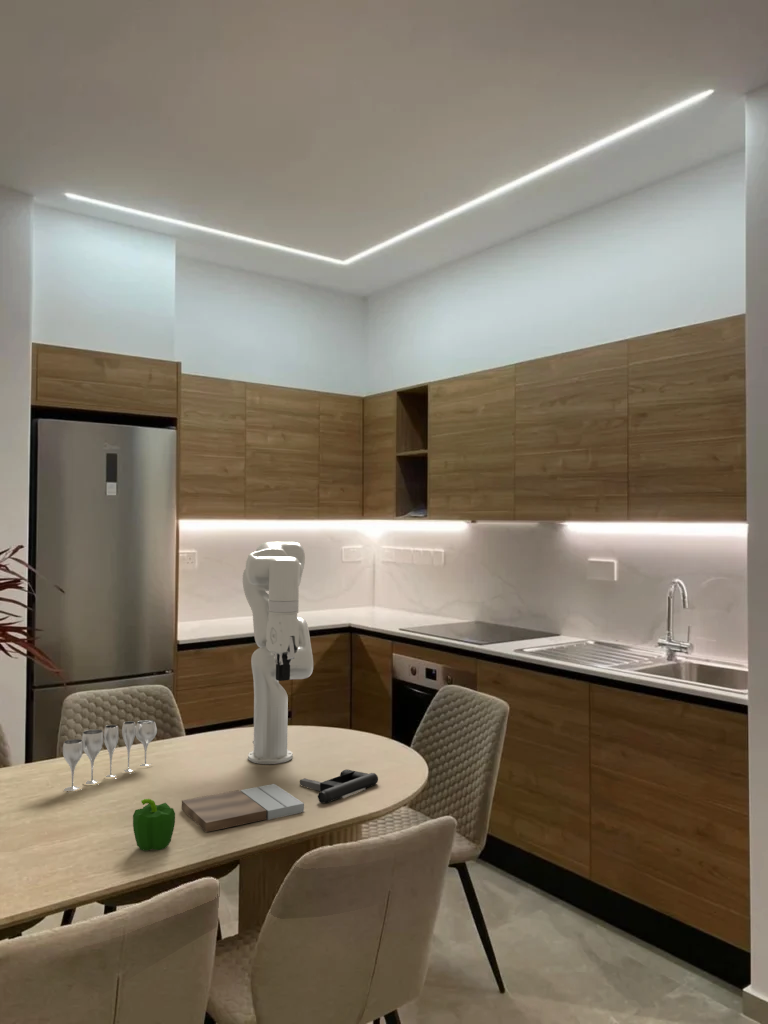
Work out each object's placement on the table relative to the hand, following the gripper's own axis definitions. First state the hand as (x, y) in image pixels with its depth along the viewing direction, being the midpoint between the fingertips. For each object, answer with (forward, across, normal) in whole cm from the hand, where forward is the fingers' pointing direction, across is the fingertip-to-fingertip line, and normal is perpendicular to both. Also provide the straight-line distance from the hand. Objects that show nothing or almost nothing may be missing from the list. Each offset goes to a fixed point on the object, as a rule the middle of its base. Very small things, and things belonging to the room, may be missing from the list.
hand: (282, 679), depth 197 cm
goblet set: (+27, -31, -34) cm, 54 cm away
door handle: (+28, +7, +11) cm, 31 cm away
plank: (+27, +10, -20) cm, 35 cm away
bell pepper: (+27, +19, -38) cm, 51 cm away
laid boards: (+27, +10, -8) cm, 30 cm away
